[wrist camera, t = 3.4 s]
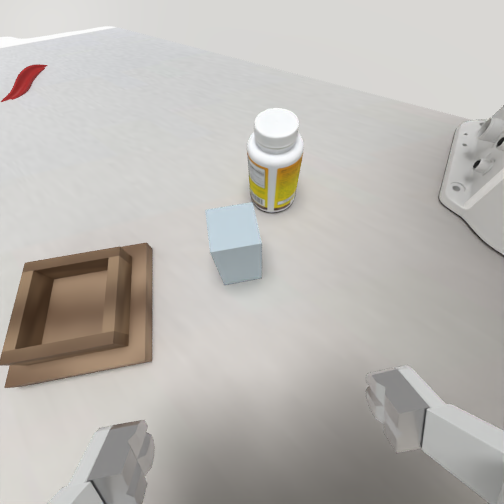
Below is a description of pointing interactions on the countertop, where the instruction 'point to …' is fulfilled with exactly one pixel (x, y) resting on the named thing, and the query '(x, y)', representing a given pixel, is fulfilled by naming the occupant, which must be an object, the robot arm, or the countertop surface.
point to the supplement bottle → (274, 159)
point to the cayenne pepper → (24, 81)
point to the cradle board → (80, 315)
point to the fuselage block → (235, 242)
